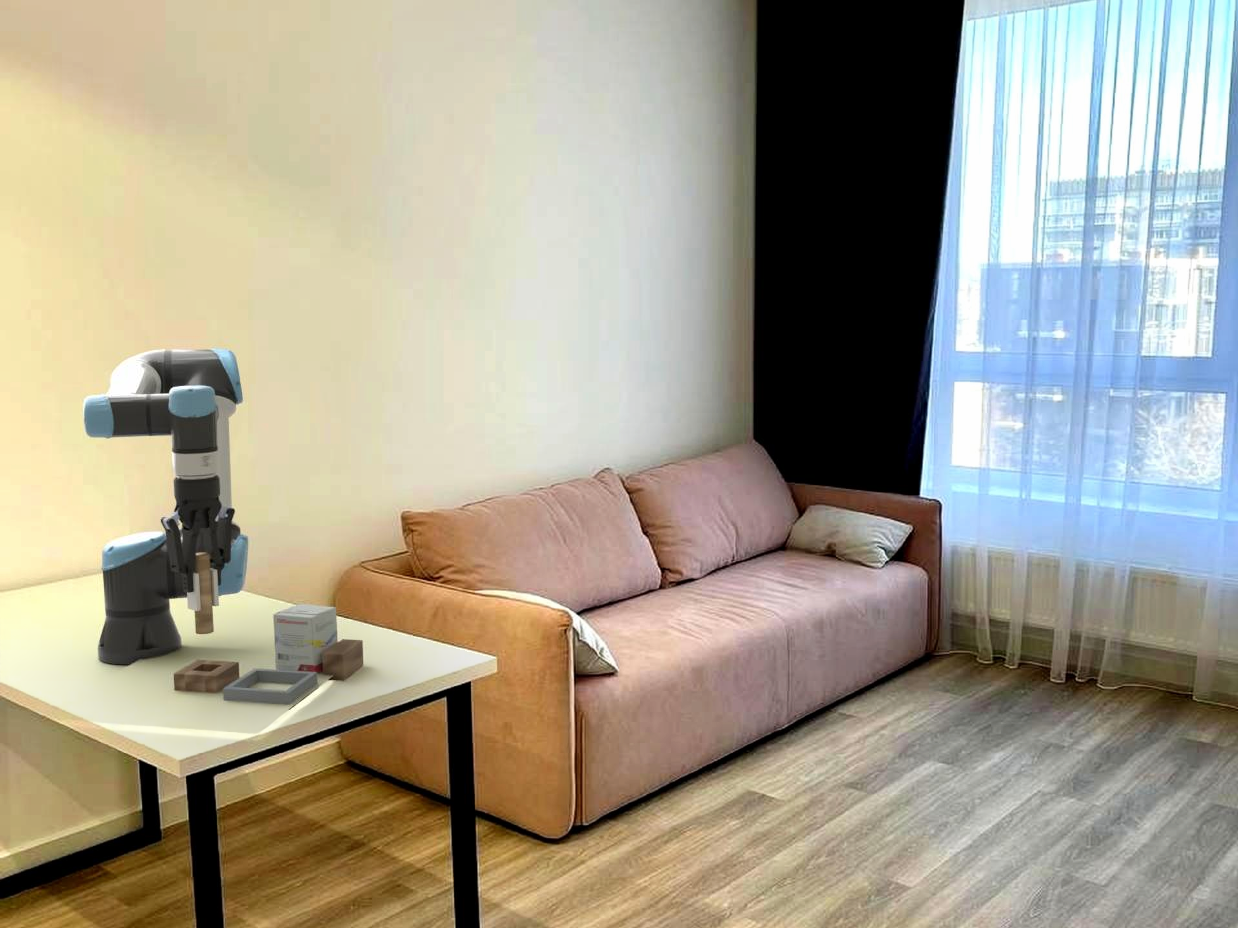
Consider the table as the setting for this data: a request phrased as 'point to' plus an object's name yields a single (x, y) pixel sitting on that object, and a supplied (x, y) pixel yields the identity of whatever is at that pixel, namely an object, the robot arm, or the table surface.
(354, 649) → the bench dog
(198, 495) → the robot arm
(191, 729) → the table surface
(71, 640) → the table surface
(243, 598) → the table surface
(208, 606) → the dowel
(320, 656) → the ink box
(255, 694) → the tray
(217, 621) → the table surface
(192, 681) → the socket block
